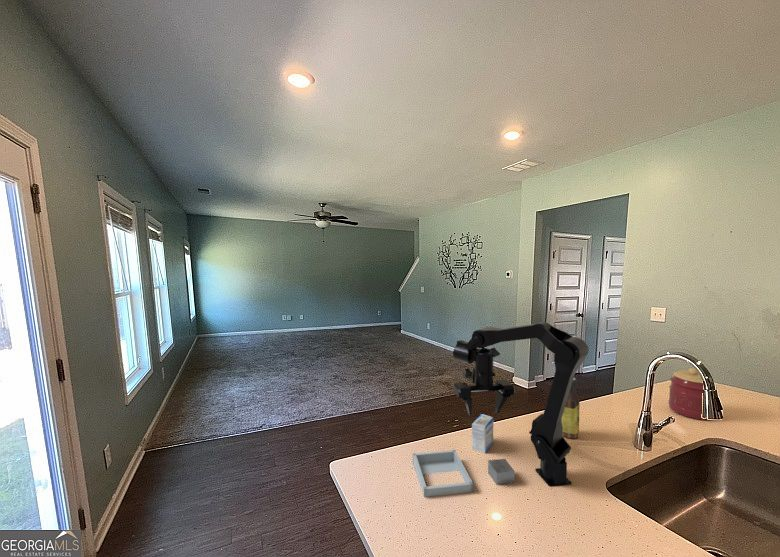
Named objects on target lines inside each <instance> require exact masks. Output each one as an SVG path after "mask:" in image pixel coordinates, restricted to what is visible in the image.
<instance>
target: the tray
mask: <svg viewBox="0 0 780 557" xmlns="http://www.w3.org/2000/svg"><path fill="white" fill-rule="evenodd" d="M412 465H413V469H414V471H415V474H416V477H417V481H418V483H419V486H420V489H421V492H422V496H423V497H424V498H428V497H437V496H445V495H447V496H448V495H455V494H457V495H458V494H464V493H473V492H474V488H475V486H474V484H475V483H474V482H473V480H472V478H471V476H470V475H469V473H468V471H467V469H466V468H465V465H464V463H463V462H462V460H461V458H460V456H459V455H458V453H457V450H456V449H452V450H451V449H450V450H448V449H447V450H440V451H439V450H438V451H437V450H436V451H428V452H427V451H426V452H417V453H416V452H415V453H412ZM451 472H452V473H453V472H459V474H460V475H461V478H462V479H463V482H459V483H449V484H440V485H429V486H427V485H426V482H425V478H424V475H432V474H440V473H451Z"/></svg>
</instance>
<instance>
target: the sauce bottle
mask: <svg viewBox="0 0 780 557" xmlns="http://www.w3.org/2000/svg"><path fill="white" fill-rule="evenodd" d="M576 383H577V379H576V378H575V377H574V378H573V382H572V385H571V389H570V392H569V395H568V399H567V402H566V405H565V409H564V412H563V415H562V419H561V422H562V427H563V432H562V436H563V437H564V436H565V437H564V438H568V439H573V438H574V439H577V438H578V437H579V433H580V400H579V397H578V394H577V391H576Z"/></svg>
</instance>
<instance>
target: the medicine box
mask: <svg viewBox="0 0 780 557" xmlns="http://www.w3.org/2000/svg"><path fill="white" fill-rule="evenodd" d="M493 443H494V417H493V416H490V415H486V414H484V413H483V414H482V413H481V414H480V415H479V416H478V417H477V418H476V419H475V420H474V421H473V423H471V448H472V450H474V451H476V452H480V453H482V454H486V453H487V452H488V450H489V449H490V447H492V446H491V445H492V444H493Z"/></svg>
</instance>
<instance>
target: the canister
mask: <svg viewBox="0 0 780 557" xmlns="http://www.w3.org/2000/svg"><path fill="white" fill-rule="evenodd" d="M696 369H697V368H695V367H690V368H689V369H681V370H680V369H679V370H678V371H674V372H673V373H672V376H670V377H669V380H670V381H671V384H670V385H669V387H668V388H669V398H668V407H669V409H671V411H673V412H675V413H677V414H680V415H682V416H684V417H688V418H693V419H697V420H703V421H706V420H705V419H702V418H701V414H702V393H703V383H702V380H701V377H700V374H699V373H700V372H699V371H698V370H697V371H698V372H699V373H698V372H697V371H696ZM713 381H714V379H713ZM714 382H715V381H714ZM716 390H717V386H716Z"/></svg>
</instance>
